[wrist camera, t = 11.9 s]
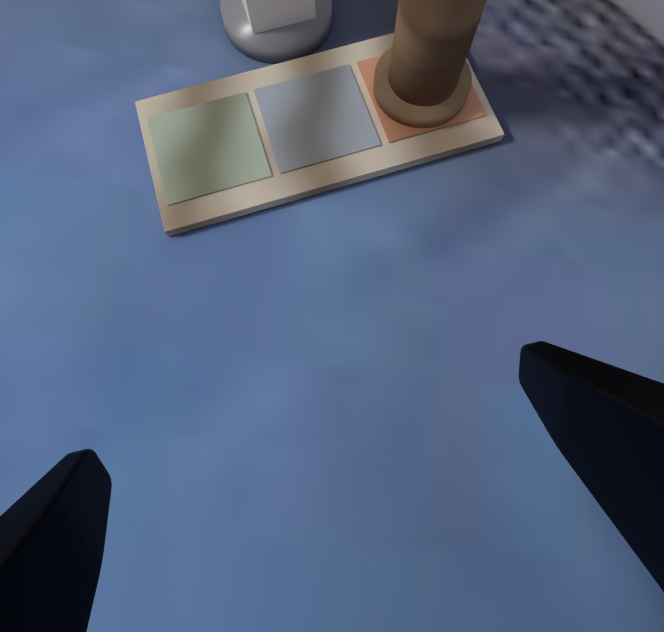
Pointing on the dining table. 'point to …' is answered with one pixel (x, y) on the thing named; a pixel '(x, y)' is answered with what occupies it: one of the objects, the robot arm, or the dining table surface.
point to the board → (289, 136)
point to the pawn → (427, 62)
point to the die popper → (276, 27)
